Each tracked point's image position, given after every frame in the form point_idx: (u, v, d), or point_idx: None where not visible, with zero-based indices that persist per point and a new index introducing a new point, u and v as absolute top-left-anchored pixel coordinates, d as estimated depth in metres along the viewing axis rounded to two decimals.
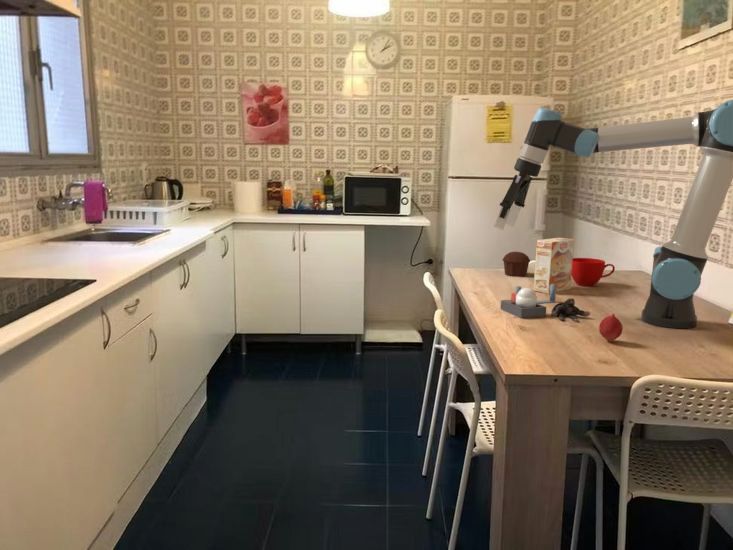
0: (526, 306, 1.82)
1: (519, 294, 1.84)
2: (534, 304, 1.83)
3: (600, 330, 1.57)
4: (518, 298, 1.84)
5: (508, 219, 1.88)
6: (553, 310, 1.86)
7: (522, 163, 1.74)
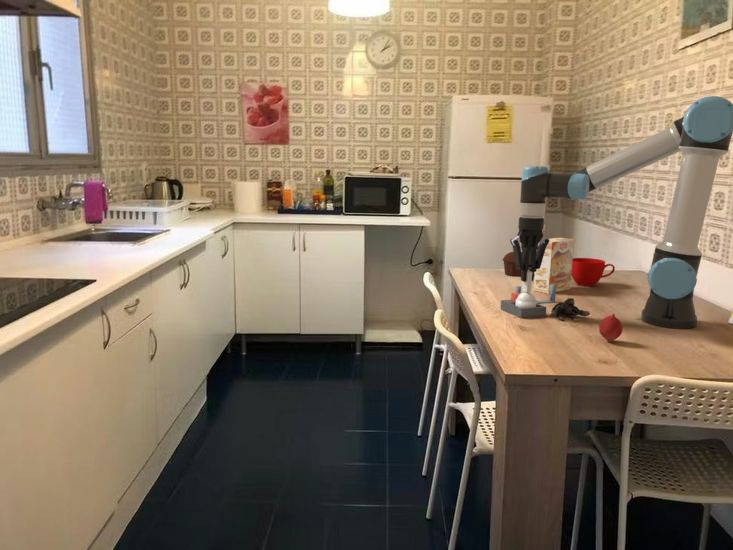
0: None
1: (519, 298, 1.84)
2: None
3: (600, 330, 1.57)
4: (518, 302, 1.84)
5: None
6: (553, 310, 1.86)
7: (519, 220, 1.81)
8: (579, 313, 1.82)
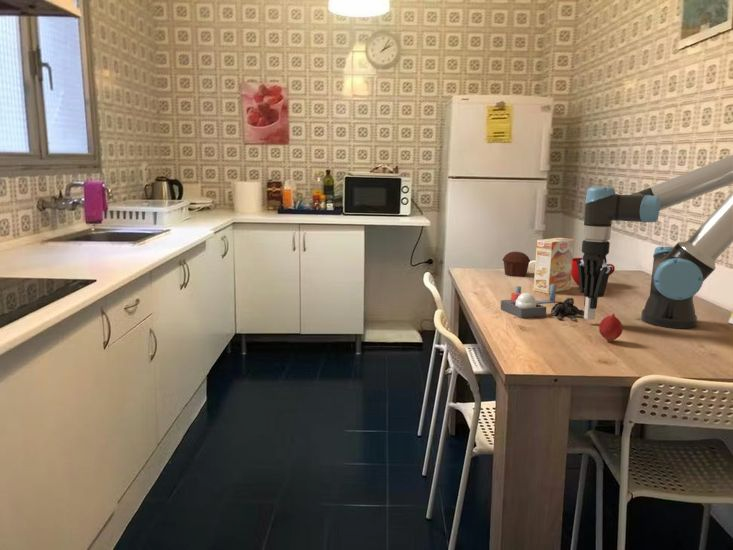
0: None
1: (519, 299, 1.84)
2: None
3: (600, 330, 1.57)
4: (518, 303, 1.84)
5: None
6: (553, 309, 1.87)
7: None
8: (578, 313, 1.82)
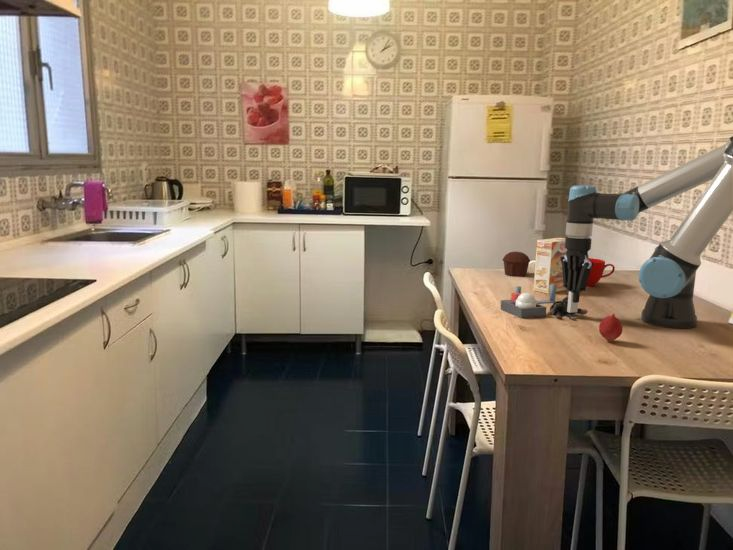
0: None
1: (519, 299, 1.84)
2: None
3: (600, 330, 1.57)
4: (518, 303, 1.84)
5: None
6: (551, 308, 1.88)
7: None
8: (577, 311, 1.84)
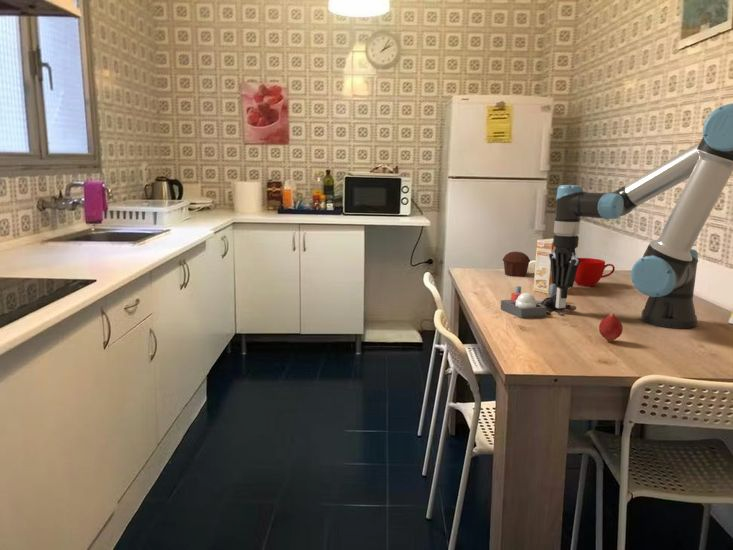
0: None
1: (519, 299, 1.84)
2: None
3: (600, 330, 1.57)
4: (518, 303, 1.84)
5: None
6: (541, 304, 1.94)
7: None
8: (566, 307, 1.89)
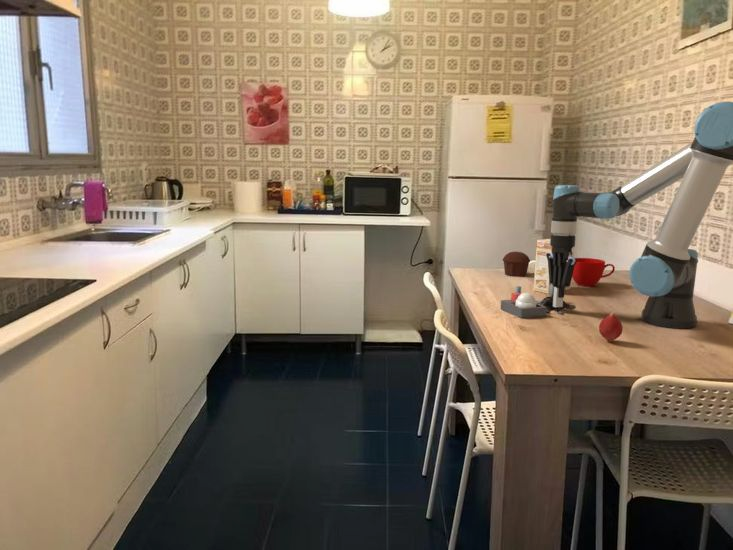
0: None
1: (519, 299, 1.84)
2: None
3: (600, 330, 1.57)
4: (518, 303, 1.84)
5: None
6: (541, 303, 1.95)
7: None
8: (565, 307, 1.91)
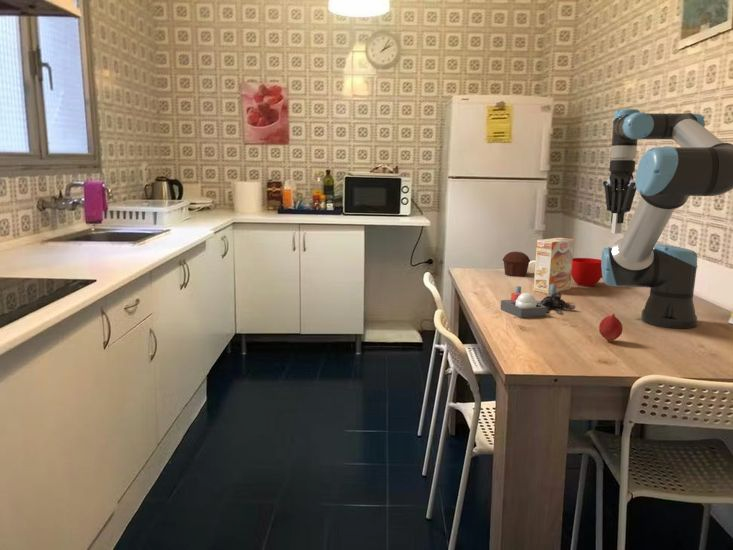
0: None
1: (519, 299, 1.84)
2: None
3: (600, 330, 1.57)
4: (518, 303, 1.84)
5: None
6: (541, 303, 1.96)
7: None
8: (565, 306, 1.91)
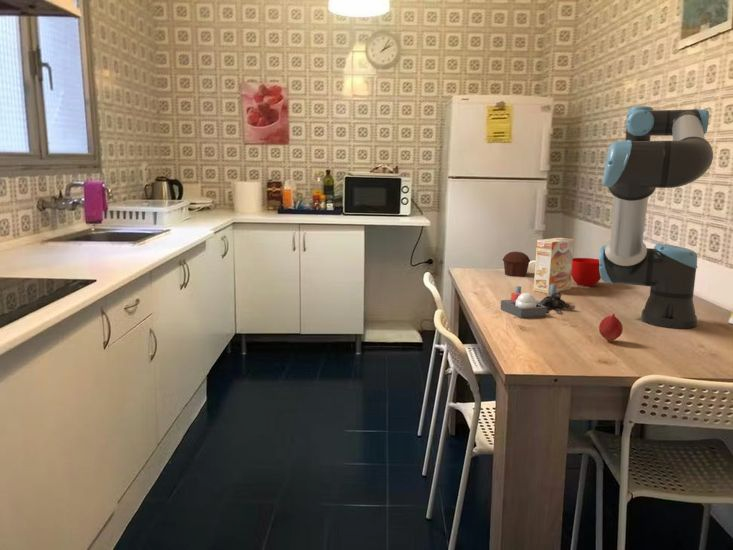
0: None
1: (519, 299, 1.84)
2: None
3: (600, 330, 1.57)
4: (518, 303, 1.84)
5: None
6: (541, 303, 1.96)
7: None
8: (565, 306, 1.91)
